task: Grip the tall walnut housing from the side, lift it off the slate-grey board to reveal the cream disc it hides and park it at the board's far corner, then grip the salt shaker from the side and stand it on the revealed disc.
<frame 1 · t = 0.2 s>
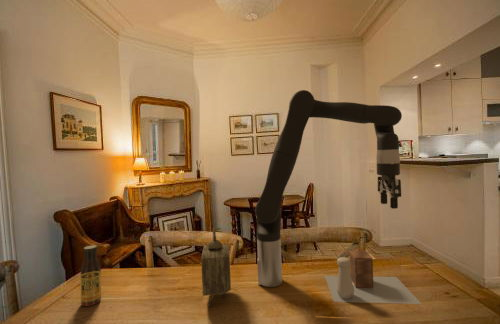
hand: (388, 205, 94), 29 cm above the table, tool pointing down, fingers open, 8 cm apart
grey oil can: (218, 298, 90), on the table
housing: (361, 283, 95), resting on board
board: (367, 289, 91), on the table
salt shaker: (345, 296, 87), resting on board
sauce bottle: (92, 302, 91), on the table
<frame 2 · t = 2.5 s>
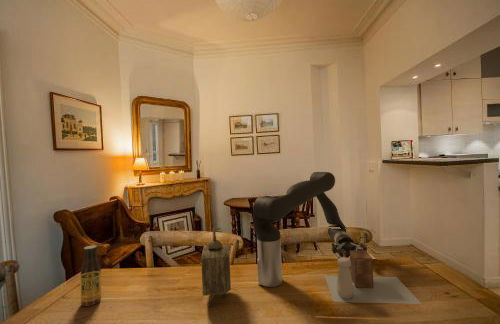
hand: (353, 255, 105), 7 cm above the table, tool horizontal, fingers open, 8 cm apart
nothing on the table moved.
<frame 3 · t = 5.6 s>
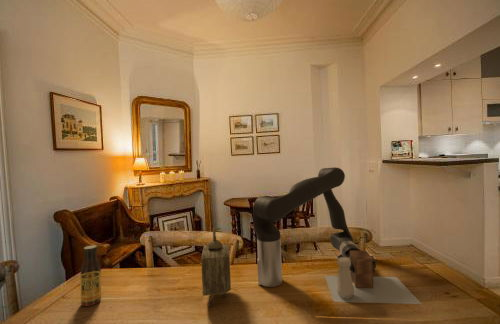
hand: (363, 270, 92), 6 cm above the table, tool horizontal, fingers closed on housing, 6 cm apart
housing: (361, 283, 95), resting on board, touching gripper
everything else where it was.
when the fingers open (7 cm above the table, at t = 11.2 s): housing stays where it is, resting on board.
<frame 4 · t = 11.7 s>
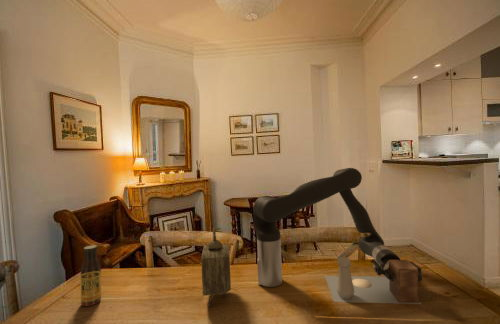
hand: (406, 278, 83), 8 cm above the table, tool horizontal, fingers open, 8 cm apart
housing: (403, 296, 85), resting on board
everything else where it was.
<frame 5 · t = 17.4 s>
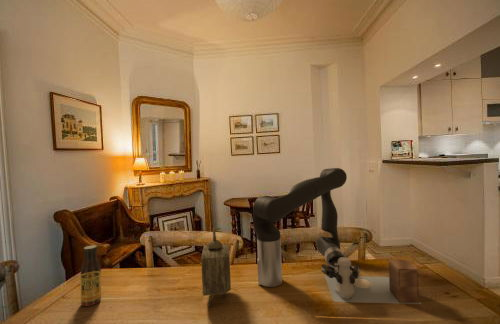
hand: (346, 281, 84), 7 cm above the table, tool horizontal, fingers closed on salt shaker, 3 cm apart
salt shaker: (345, 296, 87), resting on board, touching gripper
everything else where it was.
when the fingers open (9 cm above the table, at t = 22.2 s): salt shaker drops 2 cm, resting on board.
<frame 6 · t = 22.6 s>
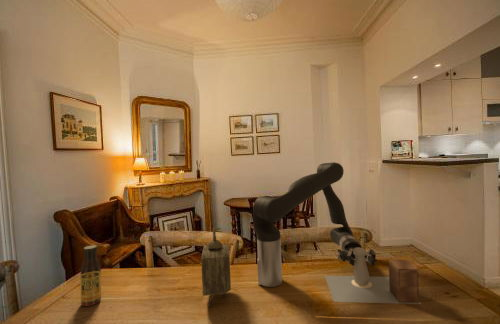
hand: (362, 263, 92), 9 cm above the table, tool horizontal, fingers open, 6 cm apart
salt shaker: (361, 283, 95), resting on board
everything else where it was.
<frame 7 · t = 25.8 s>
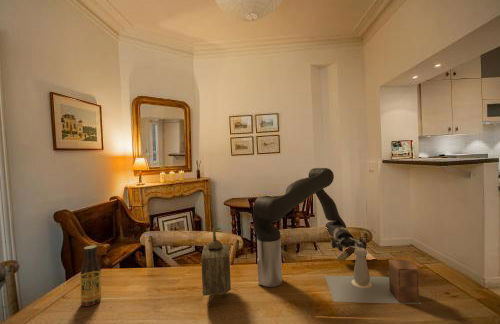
hand: (352, 249, 106), 9 cm above the table, tool horizontal, fingers open, 8 cm apart
nothing on the table moved.
at the end: salt shaker 0.1 cm from the target spot, resting on board; salt shaker tilted 0°; housing moved 13.8 cm from its start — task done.
